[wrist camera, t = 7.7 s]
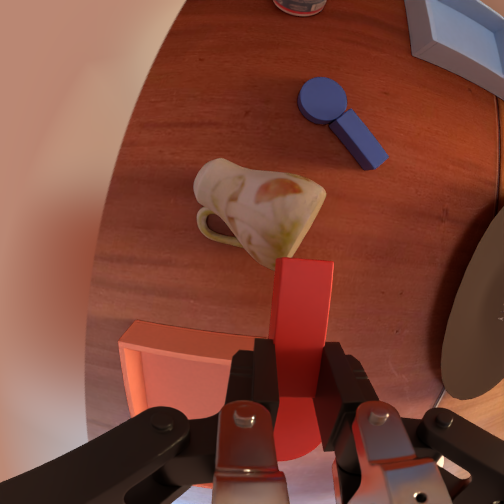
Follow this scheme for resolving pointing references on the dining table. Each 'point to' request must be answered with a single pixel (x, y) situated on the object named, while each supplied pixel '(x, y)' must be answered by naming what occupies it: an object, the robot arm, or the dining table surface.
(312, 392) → the red bar with cylinder
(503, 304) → the plate
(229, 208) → the white ceramic cup shape
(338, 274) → the dining table surface
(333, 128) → the blue spoon
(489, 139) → the dining table surface
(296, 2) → the pill bottle
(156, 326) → the coral bin
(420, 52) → the blue bin
